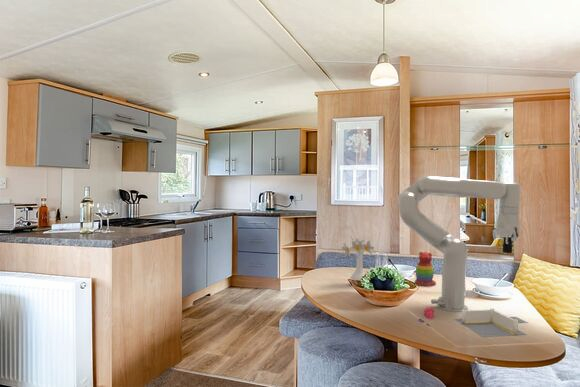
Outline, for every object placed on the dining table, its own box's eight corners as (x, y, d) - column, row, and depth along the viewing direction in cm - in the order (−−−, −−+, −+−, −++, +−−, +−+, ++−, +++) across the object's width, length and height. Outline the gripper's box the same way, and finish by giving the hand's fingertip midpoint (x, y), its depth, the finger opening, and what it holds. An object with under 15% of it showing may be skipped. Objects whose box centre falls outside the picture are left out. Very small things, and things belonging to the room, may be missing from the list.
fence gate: (492, 321, 152) (492, 310, 152) (495, 321, 152) (495, 309, 152) (515, 333, 141) (515, 320, 140) (518, 333, 141) (518, 320, 141)
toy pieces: (411, 317, 159) (411, 306, 158) (435, 316, 161) (435, 305, 161) (426, 328, 147) (426, 317, 147) (452, 326, 149) (453, 315, 149)
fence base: (482, 338, 137) (483, 323, 137) (454, 320, 155) (454, 306, 155) (551, 335, 142) (551, 320, 141) (515, 318, 159) (516, 304, 159)
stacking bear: (436, 283, 212) (437, 252, 212) (432, 287, 204) (433, 254, 203) (416, 280, 218) (417, 249, 217) (412, 284, 210) (413, 252, 209)
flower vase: (337, 284, 205) (338, 238, 204) (362, 280, 216) (363, 236, 215) (354, 290, 194) (356, 242, 194) (379, 285, 205) (380, 239, 204)
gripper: (491, 209, 173) (489, 249, 173) (510, 212, 158) (508, 256, 158) (507, 209, 173) (505, 249, 173) (528, 212, 158) (526, 256, 158)
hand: (507, 252), depth 166 cm, fingers closed
